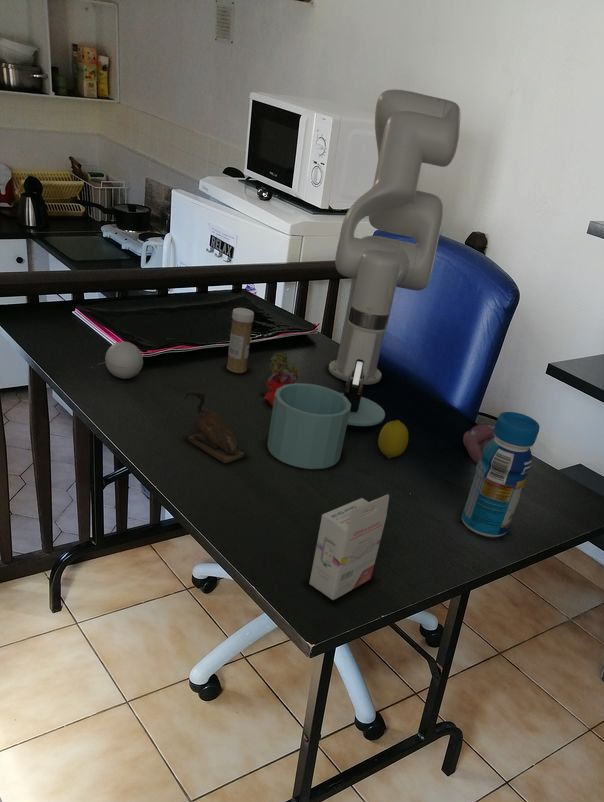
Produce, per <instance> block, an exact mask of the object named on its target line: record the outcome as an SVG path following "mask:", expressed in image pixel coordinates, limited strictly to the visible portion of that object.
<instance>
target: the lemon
mask: <svg viewBox="0 0 604 802" xmlns="http://www.w3.org/2000/svg"><path fill="white" fill-rule="evenodd" d="M408 443H409V430H408V428H407V426H406V425H405V424H404V422H401V421H400V420H399V419H395V420H391V421H388V422H386V423H385V424H384V425H383V426H382V428H381V429H380V432H379V434H378V440H377V445H378V448H379V450H380V452H381V453H382V454H383V455H384V456H385V457H386V458H387V459H393V458H396V457H399V456H401V455H402V454H403V453H404V452H405V451H406V448H407V446H408Z"/></svg>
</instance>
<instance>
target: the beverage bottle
mask: <svg viewBox="0 0 604 802" xmlns="http://www.w3.org/2000/svg"><path fill="white" fill-rule="evenodd" d="M494 426H495V428H494V436H495V437H494V438H493V439H491V440H490V441H489V442H488V443H487V444H486V445H485V447H484V448H483V450H482V451H481V453H482V458H481V459H480V460H479V462H478V464H477V463H476V466H475V467H476V468H475V474H474V477H473V480H472V483H471V486H470V490H469V493H468V496H467V500H466V502H465V506H464V507H463V511H462V513H461V521H462V523H463V524H464V526H465V527H466V528H467V529H468V530H470V531H471V532H473V533H475V534H477V535H480V536H483V537H487V538H499V537H502V536H505V535H506V534H507V533H508V531H509V529H510V526H511V522H512V520H513V517H514V515H515V511H516V509H517V506H518V503H519V501H520V498H521V495H522V492H523V491H524V490H523V489H524V487H525V486H526V485H527V484H526V483H527V481H528V478H529V474H528V473H529V470H530V469H531V468H532V465H533V455H532V451H531V447H533V446H534V444H535V443H536V441H537V438H538V435H539V433H540V428H541V427H540V424H539V423H538V421H537V420H535V419H534V418H533V417H531V416H528V415H526V414H523V413H519V412H515V411H504V412H501V413H500V414H499V415H498V417H497V419H496V422H495V425H494Z"/></svg>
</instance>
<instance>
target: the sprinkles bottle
mask: <svg viewBox="0 0 604 802" xmlns="http://www.w3.org/2000/svg"><path fill="white" fill-rule="evenodd" d="M231 313H232V315H231V319H232V322H231V330H230V336H229V345H228V352H227V353H228V357H227V364H226V369H227V370H228V371H229V372H232V373H235V374H245V373H246V372H247V371H248V359H249V354H250V346H251V334H252V327H253V322H254V319H255V312H254V311H253V310H251V309H249V308H244V307H237V308H233V310H232V312H231Z"/></svg>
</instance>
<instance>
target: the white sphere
mask: <svg viewBox="0 0 604 802" xmlns="http://www.w3.org/2000/svg"><path fill="white" fill-rule="evenodd" d="M143 358H144V357H143V354H142V352H141V350H140V349H139V348H138V347H137V346H136V345H135V344H133V343H131V342H129V341H119V342H115V343H113V344H112V345H110V346H109V348H108V349H107V351H106V352H105V357H104V361H103V362H101V363H97V365H96V366H98V365H101V364H104V363H105V366H106V368H107V370H108V372H109V373H110V374H112V375H113V376H114V377H116V378H118V379H122V380H127V379H132V378H134V377H135V376H137V375H138V374H139V373H140V371H141V370H142V369H143V365H144V359H143Z"/></svg>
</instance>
